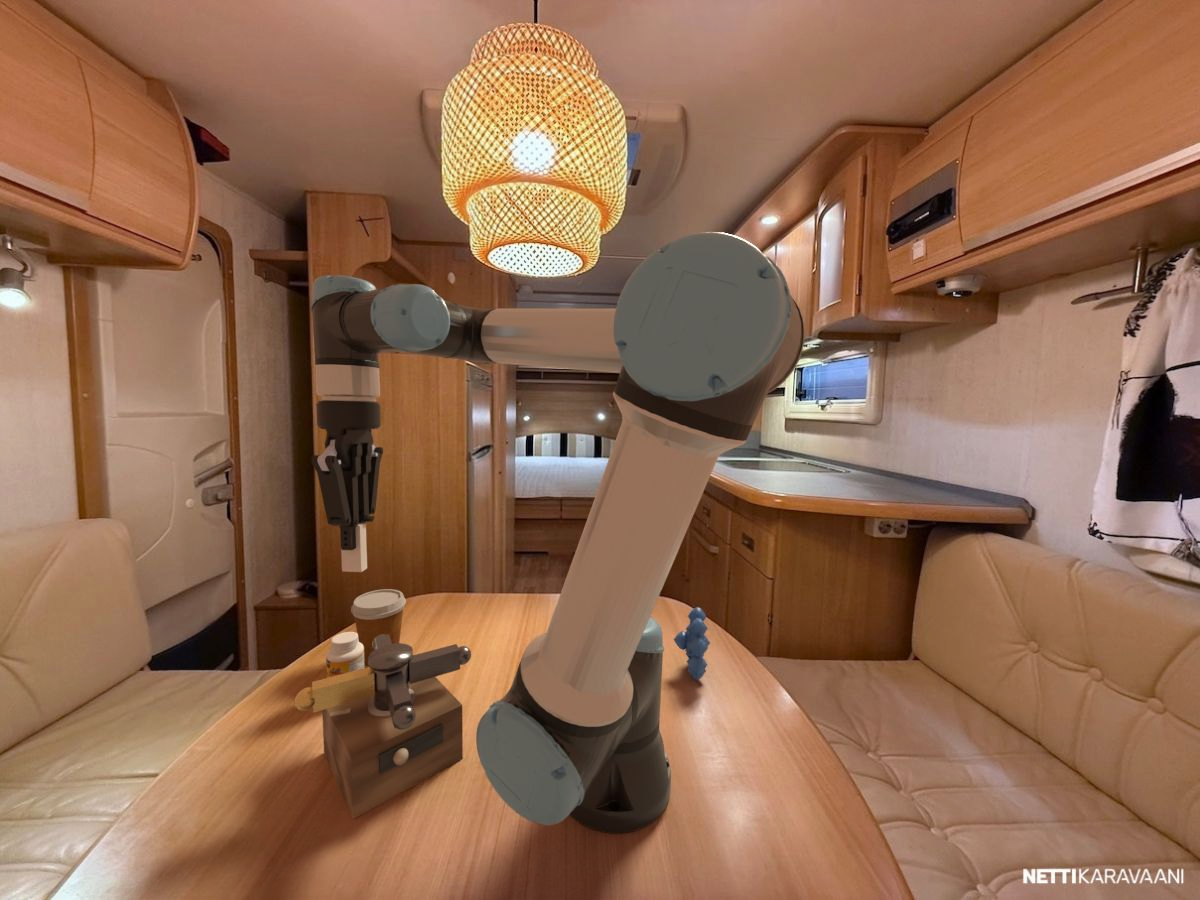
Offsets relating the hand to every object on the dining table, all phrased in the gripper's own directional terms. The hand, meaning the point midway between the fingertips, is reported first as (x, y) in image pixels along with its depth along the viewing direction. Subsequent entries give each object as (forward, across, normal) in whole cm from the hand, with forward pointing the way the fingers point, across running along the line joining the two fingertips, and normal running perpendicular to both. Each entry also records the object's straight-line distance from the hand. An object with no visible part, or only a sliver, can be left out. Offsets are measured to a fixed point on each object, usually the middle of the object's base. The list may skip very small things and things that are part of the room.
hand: (354, 569), depth 63 cm
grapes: (+27, -22, +51) cm, 62 cm away
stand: (+26, +2, +6) cm, 27 cm away
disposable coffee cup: (+27, -22, -9) cm, 36 cm away
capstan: (+18, +2, +6) cm, 19 cm away
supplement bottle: (+27, -11, -9) cm, 30 cm away
